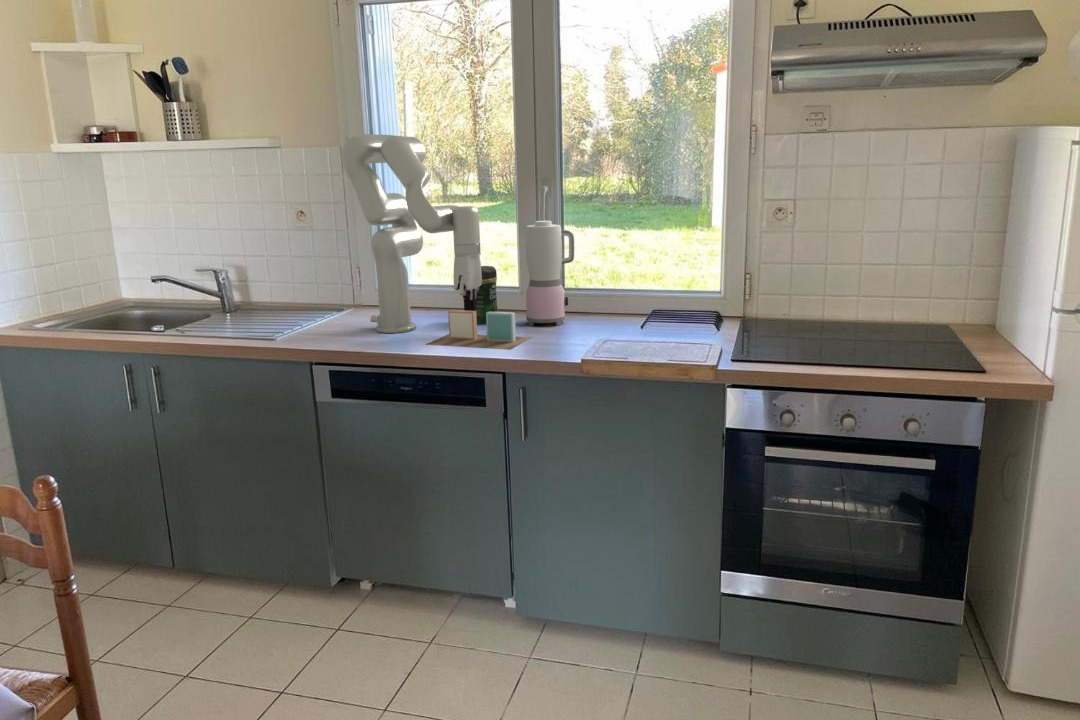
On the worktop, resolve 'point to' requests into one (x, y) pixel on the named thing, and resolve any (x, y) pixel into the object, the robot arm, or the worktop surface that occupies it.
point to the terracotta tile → (462, 324)
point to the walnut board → (478, 342)
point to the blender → (546, 272)
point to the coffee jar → (486, 294)
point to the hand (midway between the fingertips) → (470, 312)
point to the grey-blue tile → (501, 326)
